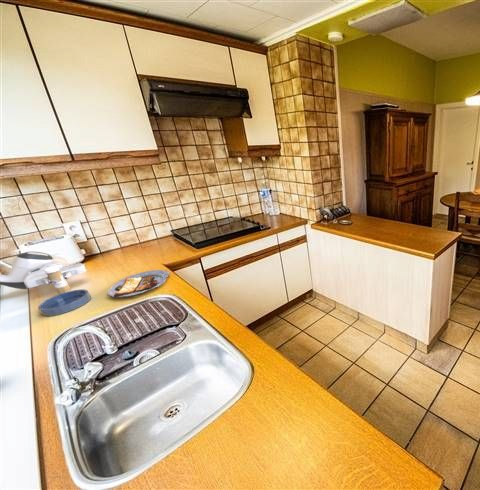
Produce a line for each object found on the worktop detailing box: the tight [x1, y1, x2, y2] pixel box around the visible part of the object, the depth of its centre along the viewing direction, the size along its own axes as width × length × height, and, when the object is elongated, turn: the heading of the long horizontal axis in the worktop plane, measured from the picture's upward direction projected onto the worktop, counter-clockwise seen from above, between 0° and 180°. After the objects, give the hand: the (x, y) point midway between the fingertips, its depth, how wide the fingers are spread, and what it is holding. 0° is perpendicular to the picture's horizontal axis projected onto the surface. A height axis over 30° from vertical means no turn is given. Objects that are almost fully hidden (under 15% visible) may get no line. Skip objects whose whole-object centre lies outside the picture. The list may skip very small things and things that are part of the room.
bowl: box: [37, 288, 92, 317], centre depth 120 cm, size 16×16×4 cm
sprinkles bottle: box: [44, 266, 72, 295], centre depth 126 cm, size 5×5×13 cm
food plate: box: [106, 269, 171, 299], centre depth 132 cm, size 25×23×4 cm
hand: (57, 279), depth 126 cm, fingers closed on sprinkles bottle, 4 cm apart
